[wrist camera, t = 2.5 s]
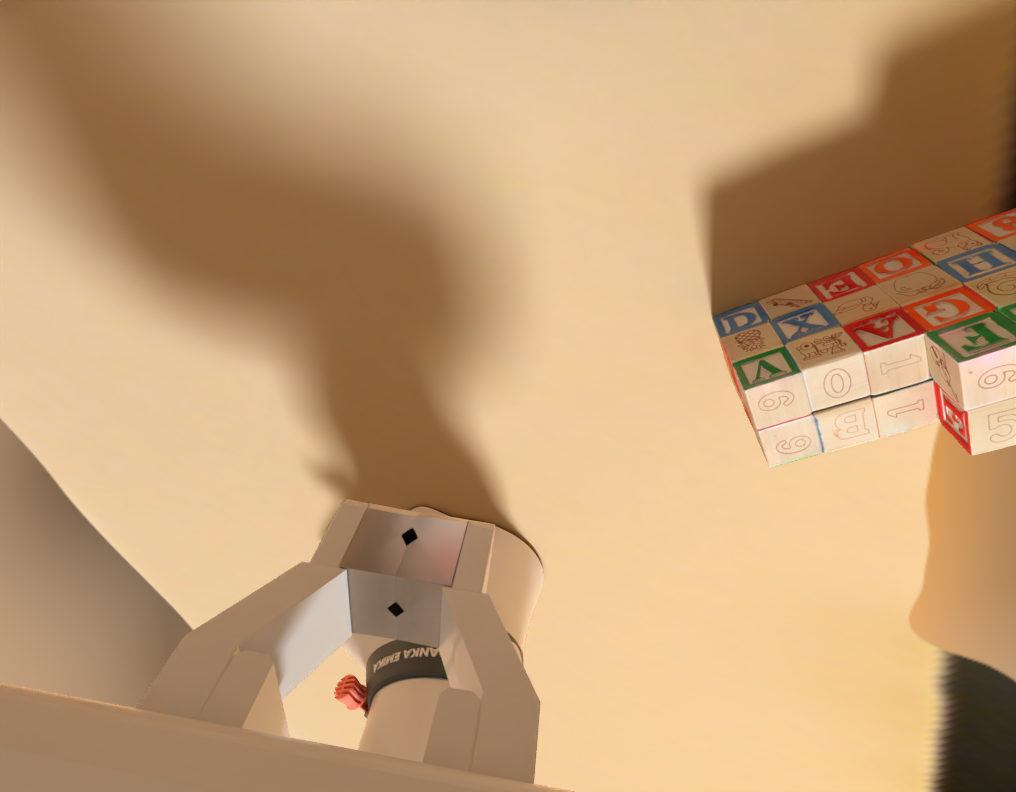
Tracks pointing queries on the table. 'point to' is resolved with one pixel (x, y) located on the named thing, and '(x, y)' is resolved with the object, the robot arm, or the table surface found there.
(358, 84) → the table surface
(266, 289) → the table surface
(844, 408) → the stack of blocks
